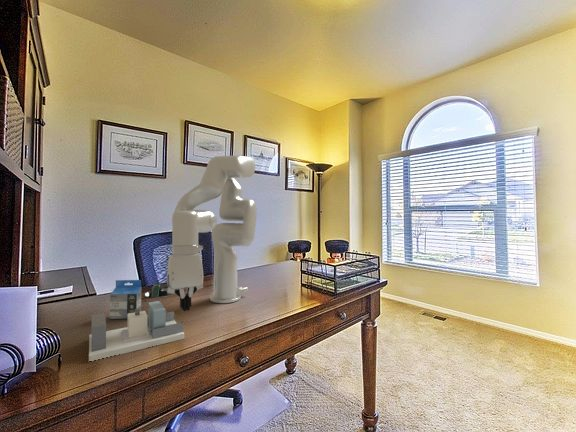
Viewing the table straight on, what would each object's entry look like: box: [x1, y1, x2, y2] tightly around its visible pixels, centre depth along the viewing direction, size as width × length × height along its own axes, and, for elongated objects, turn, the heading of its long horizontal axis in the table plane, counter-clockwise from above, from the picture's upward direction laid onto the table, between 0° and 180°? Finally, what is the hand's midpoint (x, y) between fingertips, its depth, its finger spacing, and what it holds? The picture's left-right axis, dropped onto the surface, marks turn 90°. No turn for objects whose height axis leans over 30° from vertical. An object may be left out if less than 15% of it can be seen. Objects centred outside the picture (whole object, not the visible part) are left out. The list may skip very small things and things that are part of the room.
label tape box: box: [109, 279, 142, 320], centre depth 94 cm, size 9×4×12 cm, turn 95°
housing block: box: [126, 309, 148, 337], centre depth 78 cm, size 4×4×6 cm
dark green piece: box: [144, 282, 170, 298], centre depth 122 cm, size 15×15×6 cm
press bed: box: [91, 311, 184, 352], centre depth 78 cm, size 22×11×6 cm, turn 125°
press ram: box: [147, 300, 167, 330], centre depth 81 cm, size 3×9×7 cm, turn 35°
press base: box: [88, 319, 185, 362], centre depth 78 cm, size 22×14×2 cm, turn 125°
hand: (185, 309), depth 86 cm, fingers closed
